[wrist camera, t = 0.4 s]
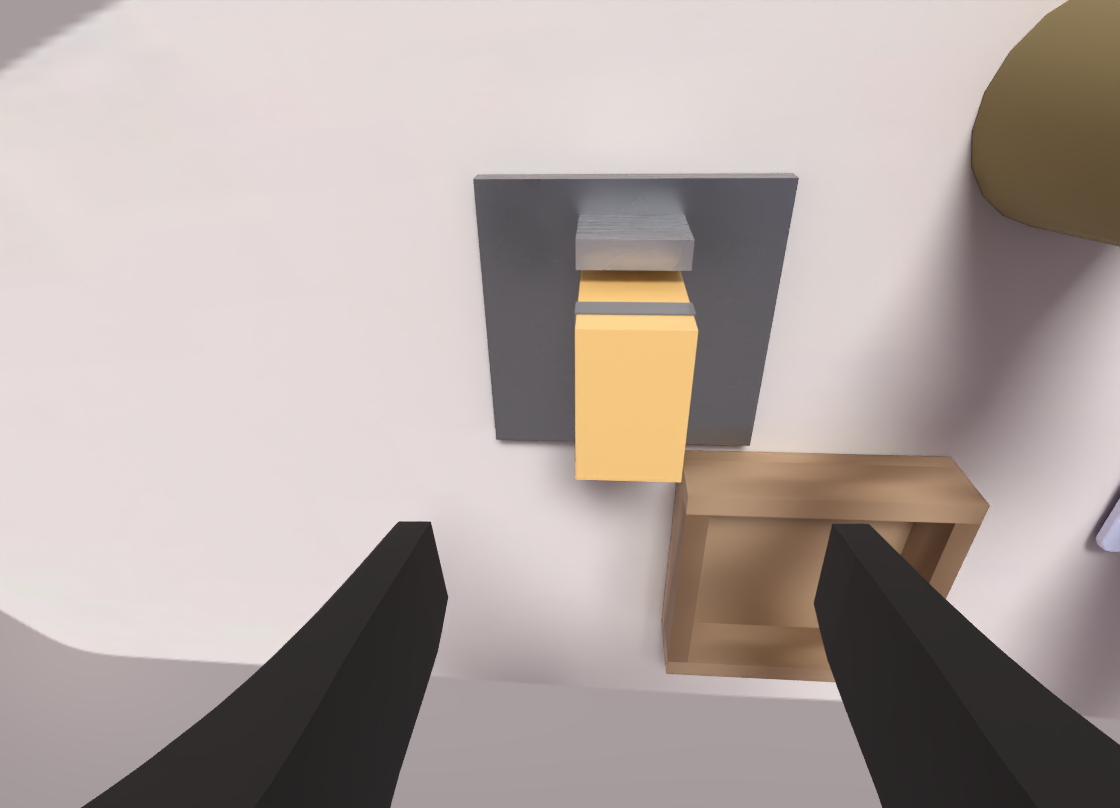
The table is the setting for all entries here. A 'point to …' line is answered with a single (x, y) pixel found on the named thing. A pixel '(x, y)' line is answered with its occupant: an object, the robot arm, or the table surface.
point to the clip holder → (629, 244)
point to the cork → (1056, 125)
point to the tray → (794, 549)
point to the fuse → (633, 375)
